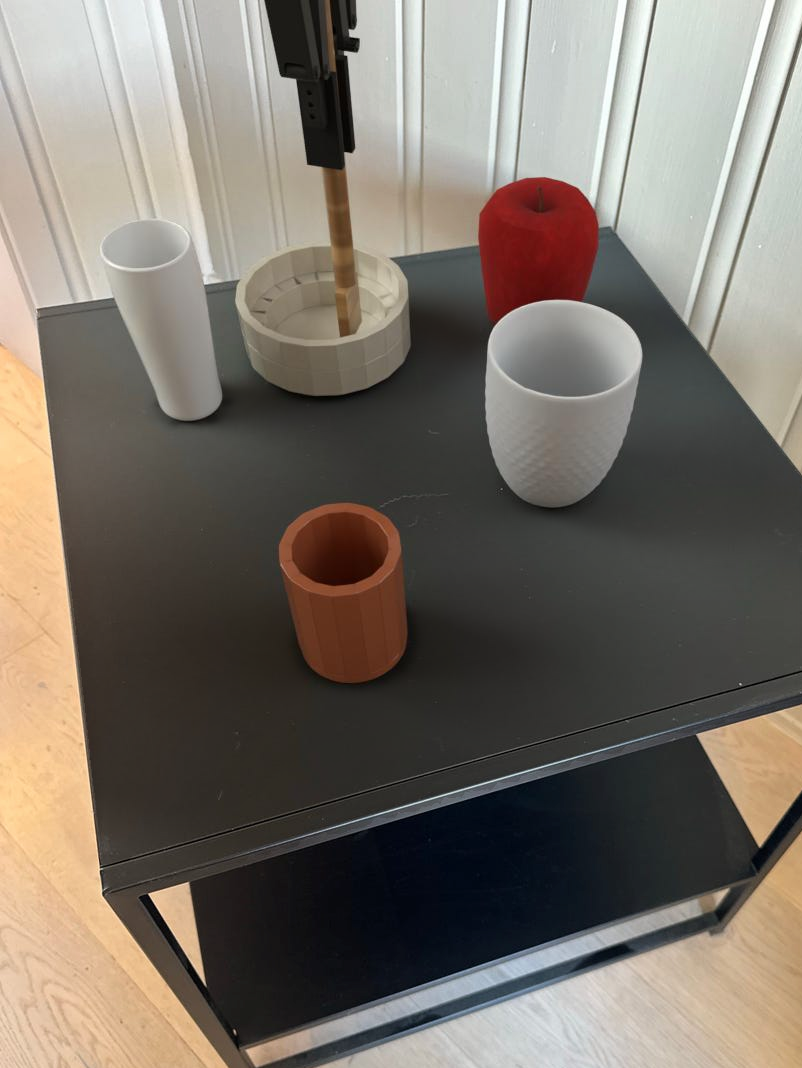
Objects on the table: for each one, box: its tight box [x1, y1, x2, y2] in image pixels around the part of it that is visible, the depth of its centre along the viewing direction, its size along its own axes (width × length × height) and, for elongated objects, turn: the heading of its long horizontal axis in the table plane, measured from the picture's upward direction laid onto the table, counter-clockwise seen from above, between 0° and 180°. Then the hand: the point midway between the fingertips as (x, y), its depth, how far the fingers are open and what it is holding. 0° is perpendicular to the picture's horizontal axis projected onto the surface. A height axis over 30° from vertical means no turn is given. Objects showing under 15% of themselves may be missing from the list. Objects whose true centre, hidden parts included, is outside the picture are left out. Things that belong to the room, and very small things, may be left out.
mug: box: [484, 300, 643, 508], centre depth 73 cm, size 15×11×13 cm
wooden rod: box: [321, 0, 362, 338], centre depth 72 cm, size 3×2×27 cm, turn 166°
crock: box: [278, 502, 409, 684], centre depth 64 cm, size 8×8×10 cm
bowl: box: [234, 240, 412, 397], centre depth 83 cm, size 15×15×6 cm
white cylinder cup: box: [99, 218, 223, 422], centre depth 75 cm, size 7×7×15 cm
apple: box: [477, 176, 600, 326], centre depth 83 cm, size 10×10×14 cm
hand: (331, 155), depth 71 cm, fingers closed on wooden rod, 2 cm apart
